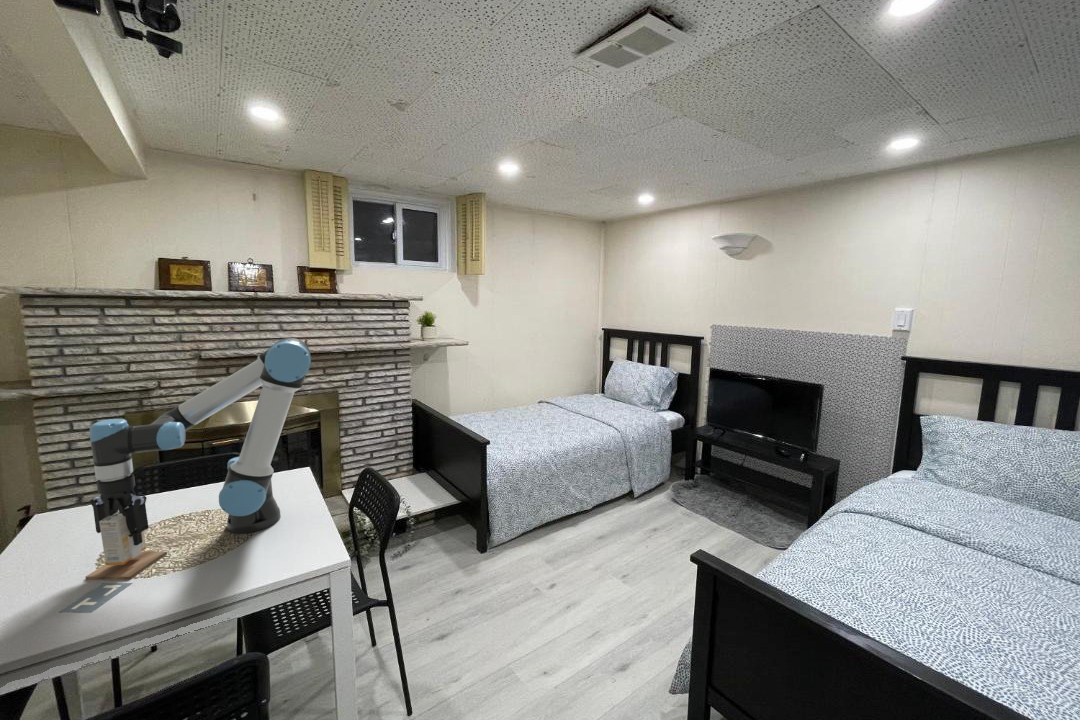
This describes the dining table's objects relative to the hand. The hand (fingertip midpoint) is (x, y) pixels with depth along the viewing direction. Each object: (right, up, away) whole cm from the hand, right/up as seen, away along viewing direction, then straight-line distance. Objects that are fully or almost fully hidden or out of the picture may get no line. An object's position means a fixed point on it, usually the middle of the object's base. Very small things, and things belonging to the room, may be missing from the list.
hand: (126, 554), depth 126 cm
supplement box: (0, -1, 0) cm, 1 cm away
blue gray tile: (+4, -5, -12) cm, 14 cm away
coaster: (0, -3, +1) cm, 3 cm away
